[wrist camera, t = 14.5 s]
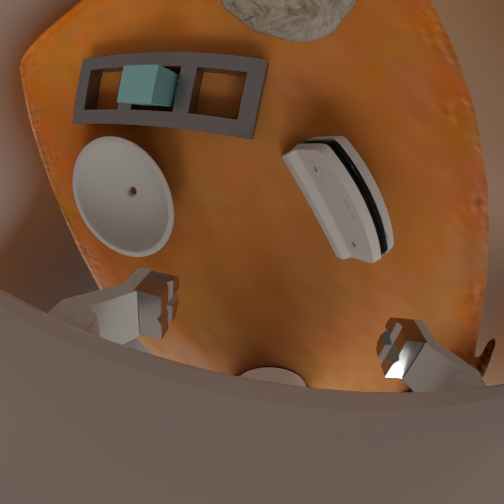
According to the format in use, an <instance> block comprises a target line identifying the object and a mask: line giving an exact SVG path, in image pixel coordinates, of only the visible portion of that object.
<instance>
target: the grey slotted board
mask: <svg viewBox="0 0 504 504" xmlns="http://www.w3.org/2000/svg"><path fill="white" fill-rule="evenodd" d="M128 65H161V66H163V67H165V68H167V69H169V70H180V75H179V80H178V85H177V90H176V95H175V100H174V106H173V111H172V112H167V111H151V110H141V105H136V104H128V103H118V109H103V110H96V105H97V98H98V92H99V87H100V82H101V76H102V72H114V71H123V67H124V66H128ZM268 66H269V65H268V60H265V59H259V58H252V57H245V56H237V55H227V54H216V53H201V52H141V53H126V54H115V55H107V56H99V57H92V58H85V59H83V63H82V68H81V73H80V78H79V83H78V88H77V94H76V101H75V107H74V115H73V123H72V124H126V125H143V126H157V127H168V128H178V129H187V130H195V131H203V132H210V133H217V134H224V135H230V136H236V137H242V138H247V139H253V138H254V133H255V128H256V123H257V118H258V113H259V109H260V104H261V99H262V94H263V90H264V85H265V80H266V76H267V71H268ZM203 72H211V73H221V74H230V75H238V76H245V77H246V80H245V85H244V90H243V95H242V99H241V104H240V109H239V114H238V119H237V120H236V119H229V118H222V117H215V116H207V115H199V114H195V111H196V106H197V101H198V96H199V91H200V86H201V81H202V76H203Z"/></svg>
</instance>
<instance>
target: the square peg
mask: <svg viewBox="0 0 504 504" xmlns="http://www.w3.org/2000/svg"><path fill="white" fill-rule="evenodd" d="M178 80H179V75H178V74H176V73H174V72H172V71H170V70H169V69H167V68H165V67H163V66H161V65H128V66H124V67H123V72H122V77H121V82H120V87H119V92H118V98H117V102H119V103H128V104H136V105H144V106H158V107H173V106H174V100H175V95H176V90H177V85H178Z"/></svg>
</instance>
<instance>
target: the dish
mask: <svg viewBox="0 0 504 504" xmlns="http://www.w3.org/2000/svg"><path fill="white" fill-rule="evenodd" d="M133 186H134V187H135V188H136V191H137V192H136V194H134V193H132V191H131V188H132V187H133ZM73 192H74V197H75V201H76V204H77V207H78V210H79V212H80V214H81V216H82V218H83V220H84V222H85V223H86V225H87V226H88V228H89V229H90V230H91V231H92V233H93V234H94V235H95V236H96V237H97V238H98V239H99V240H100V241H101V242H102V243H104V244H105V245H106V246H108V247H109V248H111V249H113V250H114V251H116V252H119V253H121V254H124V255H127V256H133V257H143V256H148V255H151V254H154V253H155V252H157V251H159V250H160V249H161V248H162V247H163V246H164V245H165V244H166V242H167V241H168V239H169V237H170V235H171V232H172V229H173V224H174V203H173V198H172V194H171V190H170V188H169V185H168V182H167V180H166V178H165V176H164V174H163V172H162V171H161V169H160V168H159V166H158V165H157V163H156V162H155V161H154V159H153V158H152V157H151V156H150V155H149V154H148V153H147V152H146V151H145V150H143V149H142V148H141V147H140V146H138V145H137V144H135V143H133V142H131V141H129V140H127V139H124V138H121V137H116V136H104V137H100V138H97V139H95V140H93V141H91V142H90V143H89V144H87V145H86V146H85V147H84V148H83V150H82V151H81V152H80V154H79V156H78V158H77V160H76V163H75V166H74V171H73Z"/></svg>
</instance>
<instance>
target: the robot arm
mask: <svg viewBox="0 0 504 504" xmlns="http://www.w3.org/2000/svg"><path fill="white" fill-rule="evenodd" d="M178 288H179V279H178V276H174V275H170V274H166V273H162V272H158V271H154V270H151V269H147V268H142V267H139V268H138V269H137V270H136V271H135V272H134V273H133V274H132V275H131V276H130V277H129V278H128V279H127V280H126V281H125V282H124V283H123V284H122V285H121V286H118V285H116V286H112V287H108V288H105V289H101V290H97V291H93V292H90V293H86V294H83V295H79V296H75V297H71V298H67V299H64V300H62V301H61V302H60V303H59V304H58V305H56V306H55V307H54V308H53V309H52V310H51V311H50V312H49V313H48V314H47V313H44V312H42V311H40V310H38V309H36V308H34V307H32V306H30V305H28V304H26V303H24V302H22V301H21V300H19V299H17V298H15V297H13V296H12V295H10V294H8V293H6V292H4V291H3V290H1V289H0V504H504V384H500V385H494V386H486V384H485V382H484V381H483V379H482V377H481V375H480V374H479V372H478V371H477V370H475V369H474V368H473V367H471V366H470V365H469V364H467V363H466V362H465V361H463V360H462V359H460V358H459V357H458V356H456V355H455V354H454V353H452V352H451V351H449V350H448V349H447V348H445V347H444V346H442V345H441V344H438V343H437V342H436V340H435V339H434V337H433V335H432V334H431V332H430V331H429V329H428V328H427V326H426V325H425V323H424V322H423V321H421V320H412V319H402V318H392V317H391V318H390V319H389V320H388V322H387V324H386V325H385V327H386V331H385V332H384V333H383V334H381V335H380V338H379V340H378V342H377V347H376V351H377V356H378V358H379V359H380V360H382V361H383V362H382V364H381V367H382V370H383V373H384V375H385V377H391V378H403V380H404V382H405V383H406V384H407V385H408V386H409V387H410V388H411V389H412V390H413V392H359V391H343V390H330V389H320V388H310V387H307V386H306V384H305V382H304V381H303V379H302V378H301V377H300V376H298V375H297V374H295V373H293V372H291V371H289V370H285V369H281V368H273V367H265V368H257V369H253V370H250V371H247V372H245V373H243V374H241V375H240V376H234V375H229V374H225V373H220V372H216V371H211V370H207V369H203V368H199V367H195V366H191V365H187V364H183V363H180V362H176V361H172V360H169V359H165V358H162V357H159V356H155V355H152V354H149V353H146V352H142V351H139V350H136V349H133V348H130V347H127V346H124V345H122V344H124V343H126V342H128V341H130V340H132V339H133V338H135V337H137V336H139V335H140V334H141V335H145V336H149V337H152V338H156V339H160V340H162V338H163V336H164V335H165V333H166V331H167V329H168V323H169V322H172V321H173V319H174V317H175V314H176V311H177V305H178V297H177V295H176V293H175V292H176V291H177V289H178Z"/></svg>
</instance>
